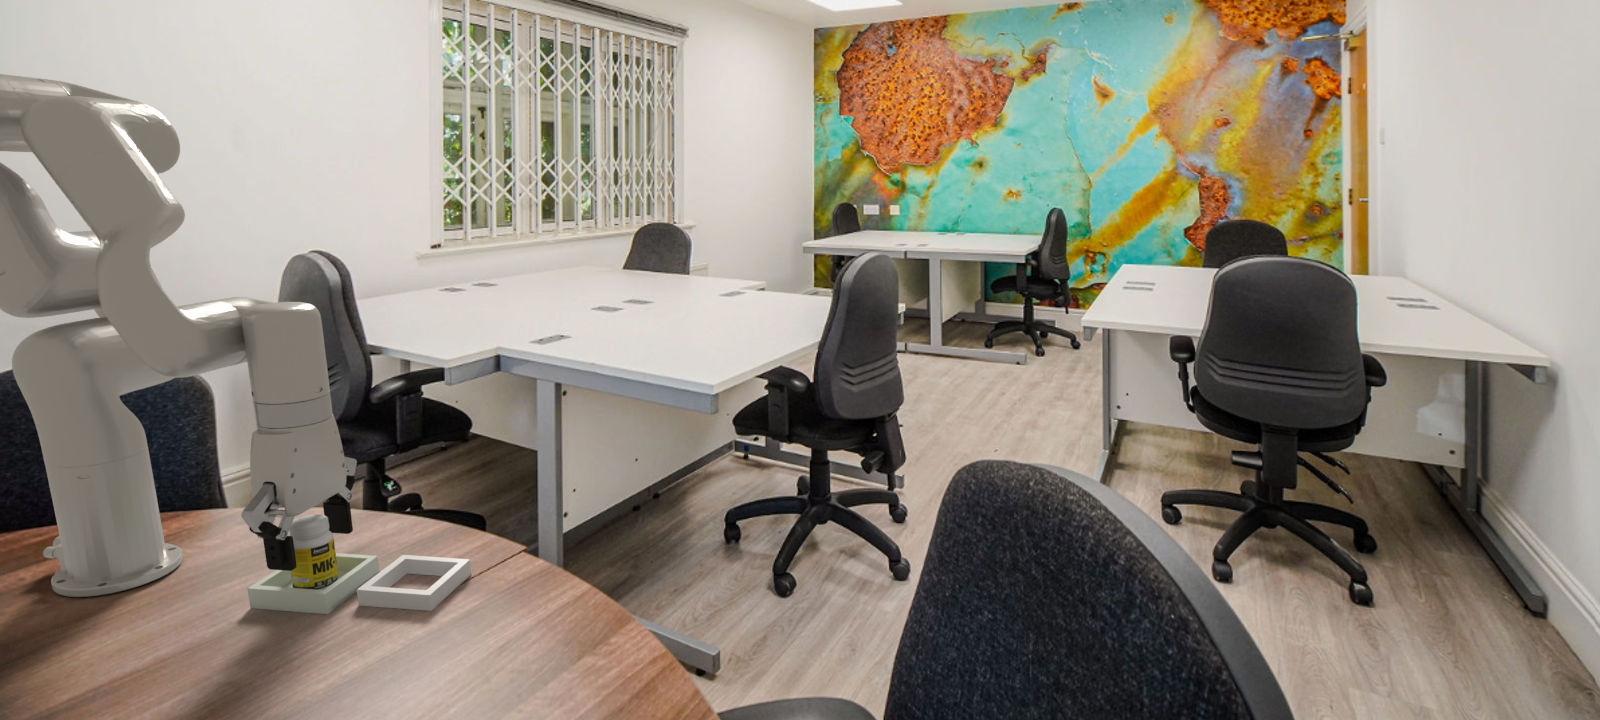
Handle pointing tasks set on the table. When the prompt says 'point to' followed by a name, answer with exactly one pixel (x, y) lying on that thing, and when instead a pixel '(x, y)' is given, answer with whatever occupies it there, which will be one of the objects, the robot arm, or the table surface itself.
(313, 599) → the tray
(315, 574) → the supplement bottle
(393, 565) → the collar holder
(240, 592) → the table surface
